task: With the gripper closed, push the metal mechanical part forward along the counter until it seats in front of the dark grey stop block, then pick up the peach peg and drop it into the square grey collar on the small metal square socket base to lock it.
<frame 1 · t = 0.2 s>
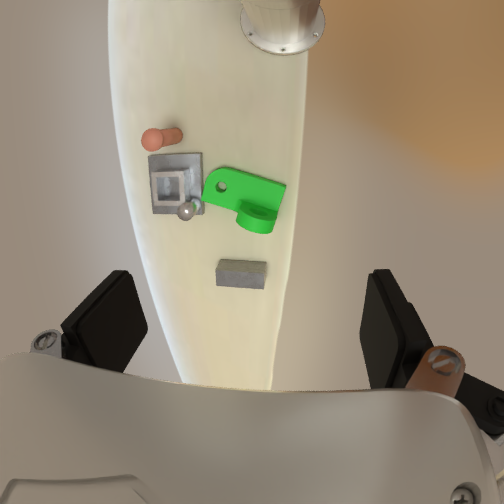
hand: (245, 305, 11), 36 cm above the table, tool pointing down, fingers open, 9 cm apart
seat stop: (243, 268, 51), on the table
peach peg: (175, 135, 43), on the table
mechanical part: (244, 190, 46), on the table
metal square socket base: (177, 183, 46), on the table
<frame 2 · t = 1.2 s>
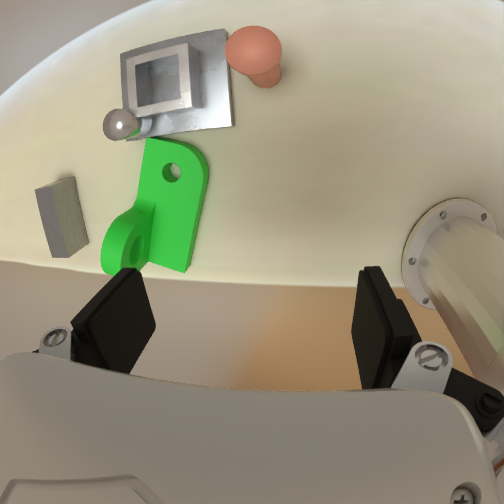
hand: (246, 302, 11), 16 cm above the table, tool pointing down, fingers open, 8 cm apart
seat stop: (72, 211, 29), on the table
peach peg: (265, 74, 21), on the table
mechanical part: (173, 201, 27), on the table
metal square socket base: (175, 85, 22), on the table
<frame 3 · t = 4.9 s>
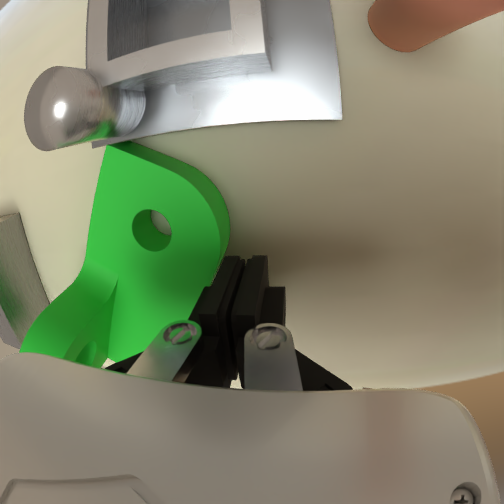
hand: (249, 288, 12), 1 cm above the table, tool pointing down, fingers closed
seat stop: (24, 268, 16), on the table
peach peg: (397, 24, 8), on the table
mechanical part: (154, 271, 14), on the table
metal square socket base: (201, 27, 9), on the table
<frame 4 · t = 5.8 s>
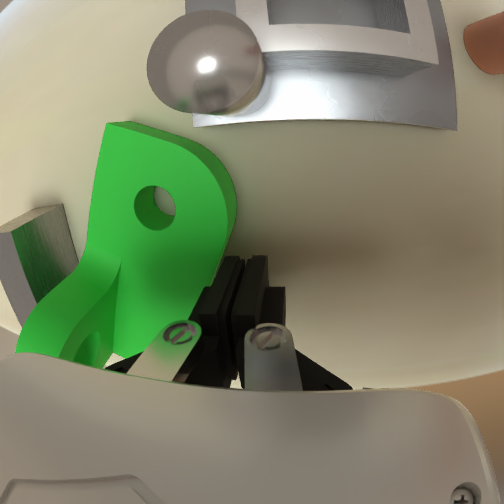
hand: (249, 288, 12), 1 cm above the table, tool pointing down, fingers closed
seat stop: (64, 269, 15), on the table
peach peg: (484, 48, 7), on the table
mechanical part: (158, 256, 14), on the table, touching gripper
metal square socket base: (320, 16, 8), on the table
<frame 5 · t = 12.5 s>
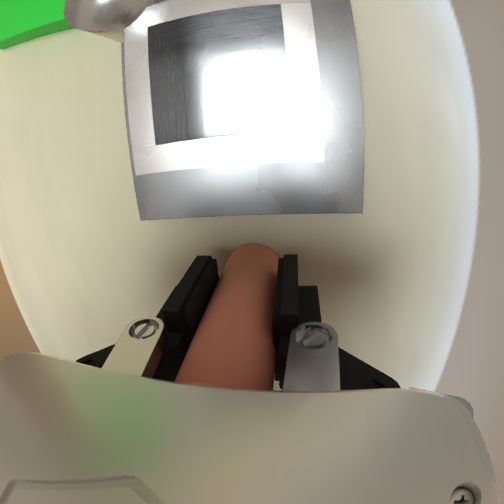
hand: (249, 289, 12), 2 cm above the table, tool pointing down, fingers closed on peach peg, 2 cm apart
peach peg: (254, 269, 13), on the table, touching gripper
metal square socket base: (239, 87, 10), on the table
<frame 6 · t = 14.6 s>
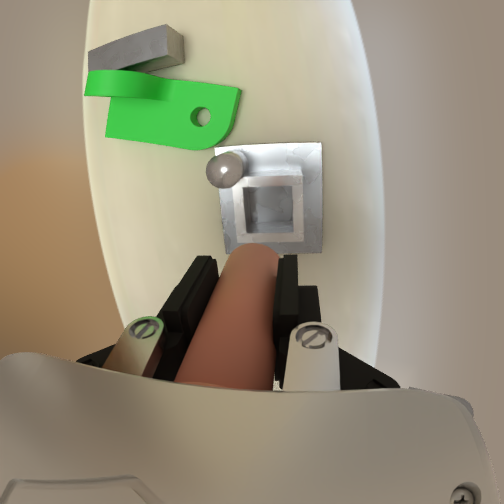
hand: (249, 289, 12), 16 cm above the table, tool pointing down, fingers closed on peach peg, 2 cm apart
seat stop: (145, 59, 22), on the table
peach peg: (254, 269, 13), point 14 cm above the table, touching gripper
mechanical part: (173, 112, 24), on the table
metal square socket base: (271, 197, 26), on the table
when the fingers open (5 cm above the table, at t = 16.7 s): peach peg stays where it is, resting on metal square socket base.
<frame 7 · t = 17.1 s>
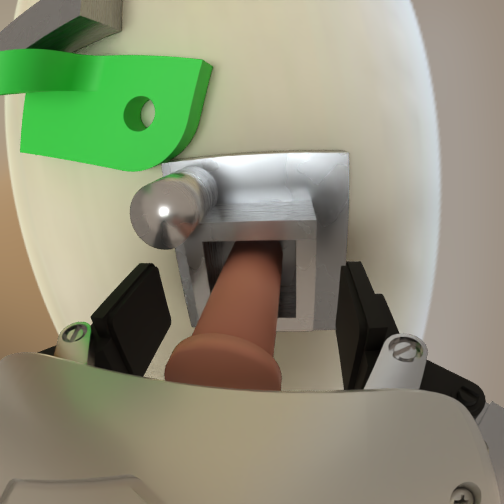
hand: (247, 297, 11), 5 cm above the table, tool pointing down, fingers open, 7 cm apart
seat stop: (71, 34, 11), on the table
peach peg: (257, 254, 15), point 1 cm above the table, touching metal square socket base
mechanical part: (109, 108, 14), on the table
metal square socket base: (260, 244, 16), on the table
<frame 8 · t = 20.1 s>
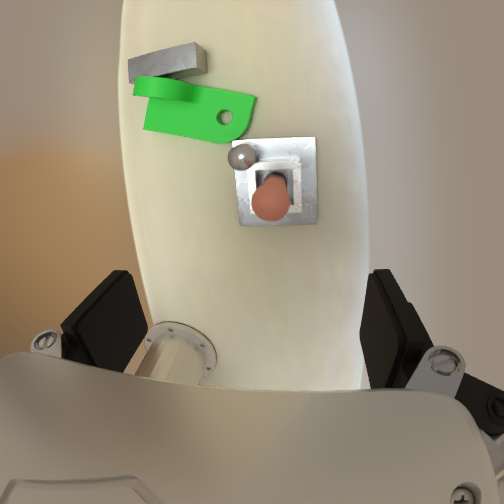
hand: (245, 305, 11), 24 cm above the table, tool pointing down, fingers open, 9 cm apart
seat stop: (174, 67, 28), on the table
peach peg: (275, 182, 32), point 1 cm above the table, touching metal square socket base
mechanical part: (200, 112, 31), on the table
metal square socket base: (276, 180, 33), on the table
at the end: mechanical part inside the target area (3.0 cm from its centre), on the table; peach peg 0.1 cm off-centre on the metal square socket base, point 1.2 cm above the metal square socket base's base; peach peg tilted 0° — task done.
